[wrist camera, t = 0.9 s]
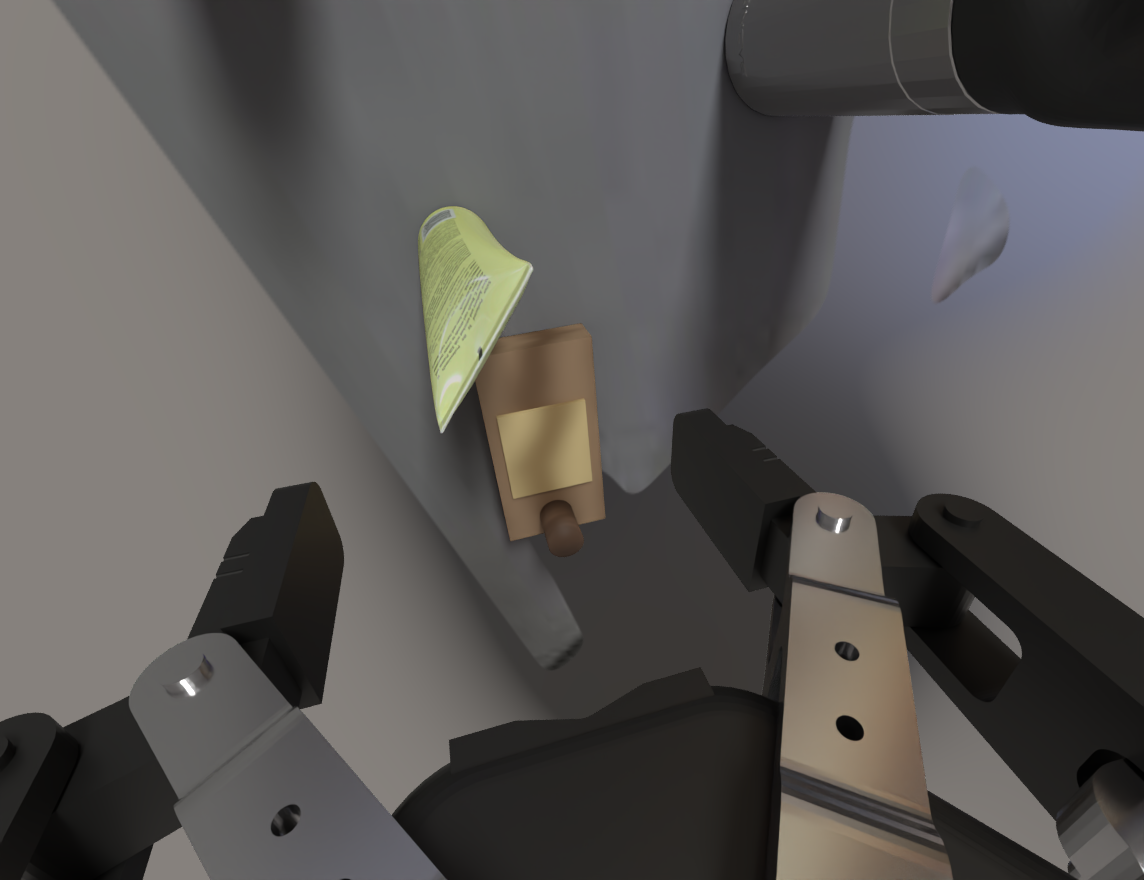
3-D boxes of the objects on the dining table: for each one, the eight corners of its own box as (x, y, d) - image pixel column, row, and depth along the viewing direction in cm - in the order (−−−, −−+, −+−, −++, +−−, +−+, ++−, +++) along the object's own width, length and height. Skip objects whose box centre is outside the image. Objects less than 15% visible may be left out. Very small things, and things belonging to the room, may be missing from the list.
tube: (501, 281, 37) (561, 404, 21) (432, 297, 37) (439, 436, 20) (481, 196, 34) (534, 266, 18) (405, 212, 33) (389, 299, 17)
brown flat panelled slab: (581, 323, 40) (607, 357, 35) (596, 498, 50) (618, 547, 44) (467, 343, 39) (475, 382, 33) (505, 519, 49) (517, 573, 43)
